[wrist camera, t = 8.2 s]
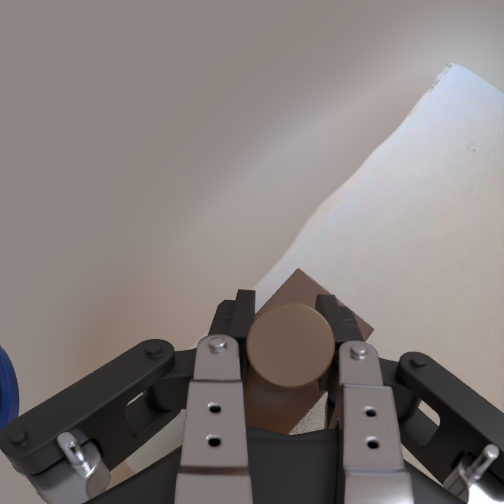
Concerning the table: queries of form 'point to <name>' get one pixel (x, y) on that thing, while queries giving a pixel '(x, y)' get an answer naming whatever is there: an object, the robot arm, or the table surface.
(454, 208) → the table surface
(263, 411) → the brown block with cylinder
